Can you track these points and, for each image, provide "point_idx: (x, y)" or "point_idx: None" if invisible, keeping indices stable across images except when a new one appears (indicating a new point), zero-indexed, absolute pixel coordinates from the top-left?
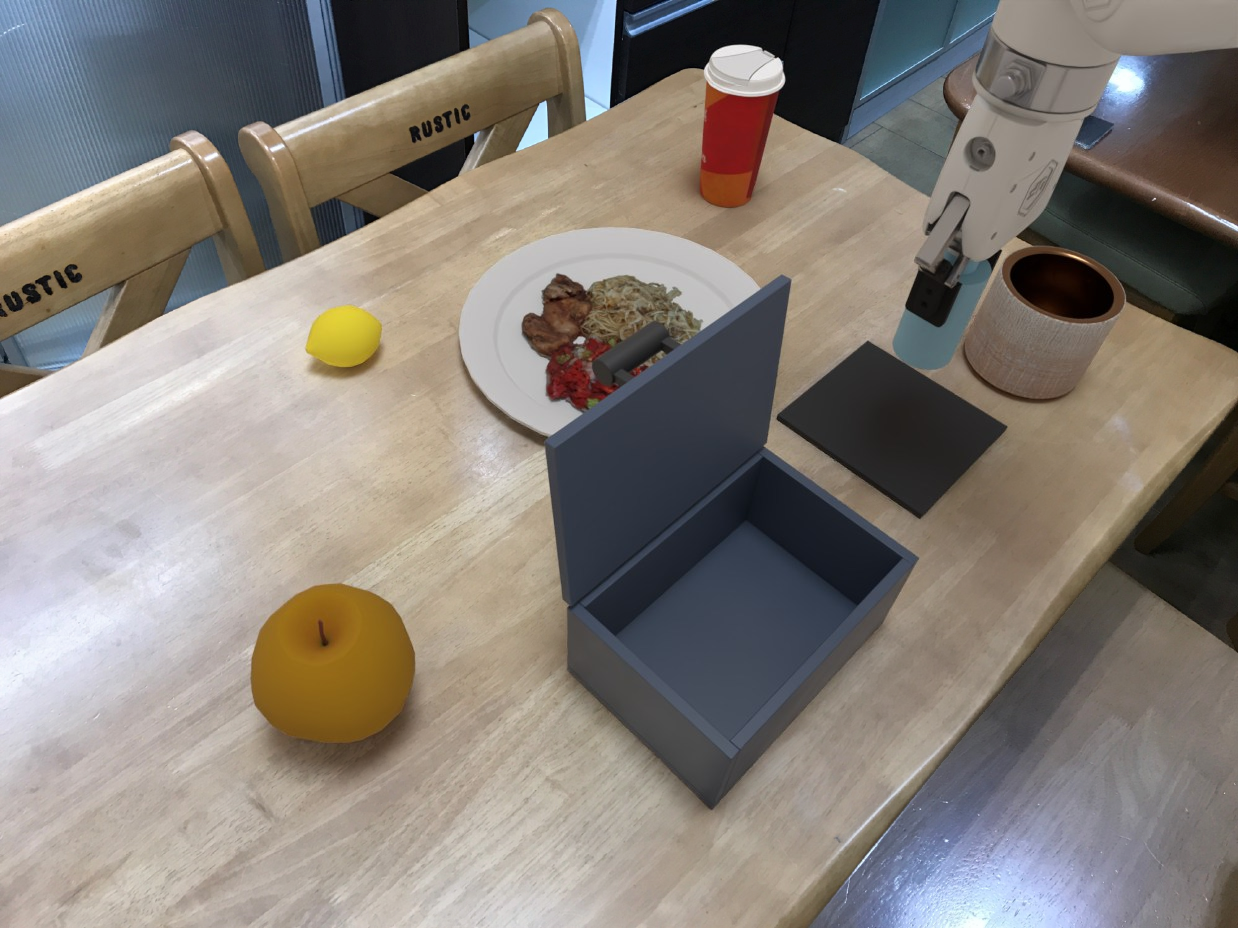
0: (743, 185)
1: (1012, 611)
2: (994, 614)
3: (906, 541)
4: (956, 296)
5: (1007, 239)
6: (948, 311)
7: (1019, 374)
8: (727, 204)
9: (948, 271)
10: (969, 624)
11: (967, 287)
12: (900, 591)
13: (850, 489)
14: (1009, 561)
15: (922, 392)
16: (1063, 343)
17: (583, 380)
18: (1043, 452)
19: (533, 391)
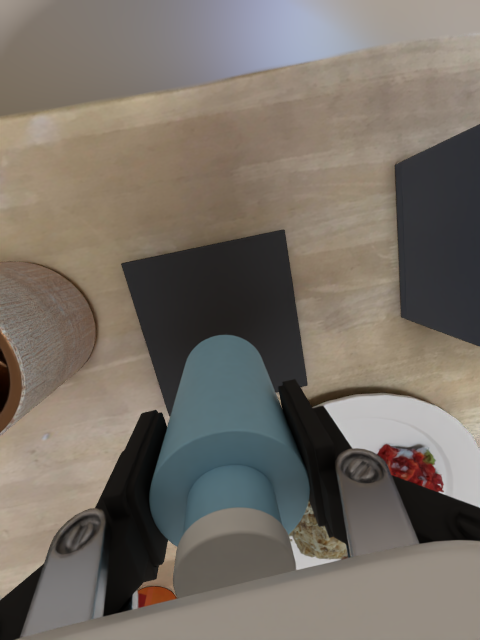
0: None
1: (291, 94)
2: (308, 104)
3: (312, 218)
4: (308, 422)
5: (318, 637)
6: (305, 398)
7: (68, 301)
8: (165, 592)
9: (407, 510)
10: (336, 111)
11: (271, 433)
12: (437, 144)
13: (309, 290)
14: (247, 140)
15: (169, 341)
16: (1, 290)
17: (430, 481)
18: (106, 219)
19: (440, 484)
